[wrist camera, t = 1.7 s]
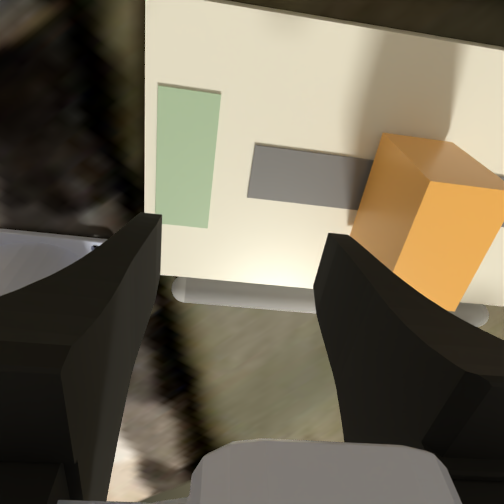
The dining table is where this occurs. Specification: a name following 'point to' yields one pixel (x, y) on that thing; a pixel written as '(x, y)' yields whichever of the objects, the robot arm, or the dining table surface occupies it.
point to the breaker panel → (296, 131)
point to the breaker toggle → (429, 214)
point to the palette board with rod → (278, 297)
